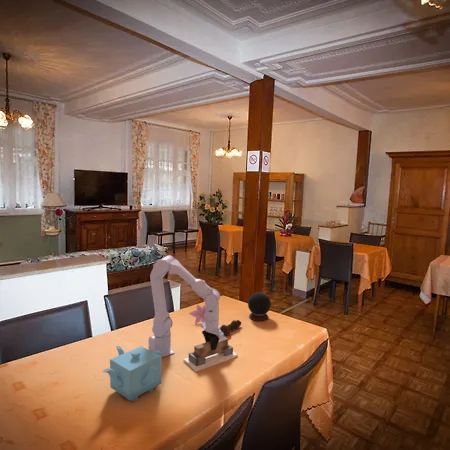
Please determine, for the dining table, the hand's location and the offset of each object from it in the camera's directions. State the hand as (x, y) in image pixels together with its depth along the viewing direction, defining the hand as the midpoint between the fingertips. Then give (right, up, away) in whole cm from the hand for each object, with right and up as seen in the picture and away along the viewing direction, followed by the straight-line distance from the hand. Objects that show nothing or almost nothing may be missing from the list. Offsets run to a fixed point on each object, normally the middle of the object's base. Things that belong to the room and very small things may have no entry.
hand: (211, 348), depth 151 cm
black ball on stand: (+26, 0, +49) cm, 55 cm away
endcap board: (0, -5, +1) cm, 5 cm away
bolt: (+10, -2, +31) cm, 32 cm away
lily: (-7, 0, +41) cm, 41 cm away
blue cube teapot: (-28, -7, -24) cm, 37 cm away
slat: (0, -2, 0) cm, 2 cm away
